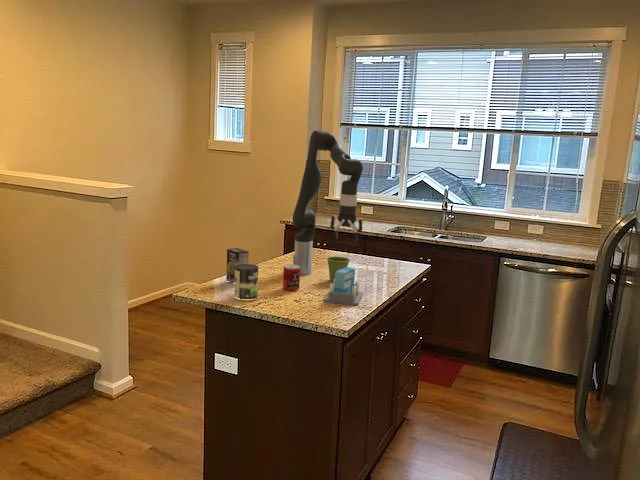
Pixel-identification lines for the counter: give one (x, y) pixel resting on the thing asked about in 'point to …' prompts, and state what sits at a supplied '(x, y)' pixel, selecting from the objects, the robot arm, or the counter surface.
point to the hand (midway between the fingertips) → (345, 239)
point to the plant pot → (336, 265)
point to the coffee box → (235, 261)
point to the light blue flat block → (344, 280)
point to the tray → (344, 296)
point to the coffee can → (246, 281)
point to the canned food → (291, 277)
